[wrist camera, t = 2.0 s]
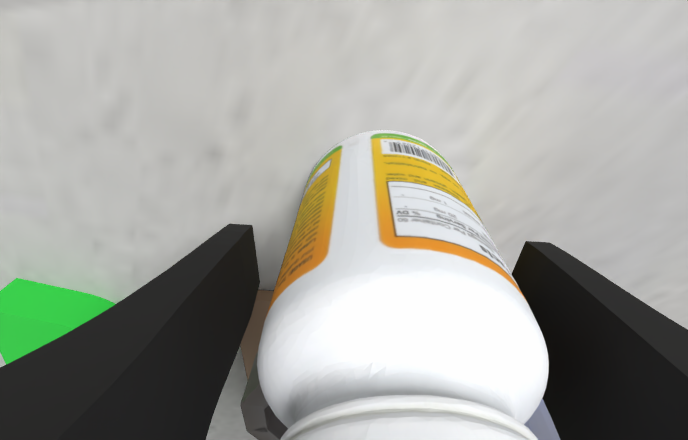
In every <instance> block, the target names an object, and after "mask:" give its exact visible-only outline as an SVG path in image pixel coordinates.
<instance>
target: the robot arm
mask: <svg viewBox="0 0 688 440" xmlns="http://www.w3.org/2000/svg"><path fill="white" fill-rule="evenodd" d="M512 276H513V278H514V279H515V281H516V283H517V285H518V287H519V289H520V291H521V292H522V294H523V295H524V297H525V299H526V301H527V303H528V305H529V307H530V309H531V311H532V313H533V315H534V317H535V319H536V321H537V323H538V325H539V327H540V330H541V332H542V334H543V337H544V340H545V344H546V347H547V352H548V360H549V372H548V380H547V385H546V389H545V392H544V395H543V398H542V400H541V402H540V404H539V406H538V407H537V409H536V410H535V412H534V413H533V415H532V416H531V417H530V419H529V420H528V421H527V422H526V423H525V424H524V425H525V426H526V427H527V428H529V430H530V431H531V432H532V433H533V434H534V435H535V436H536V437H537V439H538V440H688V330H687V329H686V328H684V327H682V326H681V325H679V324H677V323H676V322H674V321H672V320H671V319H669V318H667V317H666V316H664V315H663V314H661V313H659V312H658V311H656V310H655V309H653V308H651V307H650V306H648V305H647V304H645V303H644V302H642V301H640V300H639V299H637V298H636V297H634V296H633V295H631V294H630V293H628V292H626V291H625V290H623V289H622V288H620V287H619V286H617V285H616V284H614V283H613V282H611V281H610V280H608V279H607V278H605V277H604V276H602V275H601V274H599V273H598V272H596V271H595V270H593V269H592V268H590V267H588V266H587V265H585V264H584V263H582V262H581V261H579V260H578V259H576V258H575V257H573V256H571V255H570V254H568V253H567V252H565V251H563V250H562V249H560V248H558V247H556V246H555V245H553V244H551V243H546V242H529V241H526V242H525V244H524V247H523V249H522V251H521V254H520V256H519V258H518V261H517V263H516V265H515V268H514V270H513V272H512ZM259 284H260V280H259V272H258V265H257V257H256V250H255V242H254V235H253V227H252V225H240V224H229V225H227V226H226V227H224V228H223V229H221V230H220V231H219V232H217V233H216V234H215V235H213V236H212V237H211V238H209V239H208V240H207V241H205V242H204V243H203V244H201V245H200V246H199V247H198V248H196V249H195V250H194V251H192V252H191V253H189V254H188V255H187V256H185V257H184V258H183V259H181V260H180V261H179V262H177V263H176V264H175V265H173V266H172V267H171V268H169V269H168V270H166V271H165V272H163V273H162V274H161V275H159V276H158V277H156V278H155V279H153V280H152V281H150V282H149V283H147V284H146V285H144V286H143V287H141V288H140V289H138V290H137V291H135V292H134V293H132V294H131V295H129V296H128V297H127V298H125V299H123V300H122V301H120V302H119V303H117V304H116V305H114V306H112V307H111V308H109V309H107V310H106V311H104V312H102V313H101V314H99V315H97V316H96V317H94V318H92V319H91V320H89V321H87V322H85V323H84V324H82V325H80V326H78V327H77V328H75V329H73V330H71V331H70V332H68V333H66V334H64V335H62V336H61V337H59V338H57V339H55V340H53V341H51V342H49V343H47V344H45V345H43V346H42V347H40V348H38V349H36V350H34V351H32V352H30V353H28V354H26V355H24V356H22V357H20V358H18V359H16V360H14V361H12V362H10V363H8V364H7V365H5V366H3V367H1V368H0V440H206V436H207V433H208V430H209V426H210V423H211V419H212V416H213V413H214V410H215V408H216V405H217V402H218V399H219V396H220V394H221V391H222V389H223V386H224V384H225V381H226V379H227V376H228V374H229V371H230V369H231V366H232V364H233V361H234V359H235V356H236V354H237V351H238V349H239V346H240V344H241V341H242V339H243V336H244V333H245V331H246V328H247V326H248V323H249V320H250V318H251V315H252V311H253V308H254V304H255V300H256V296H257V292H258V288H259Z"/></svg>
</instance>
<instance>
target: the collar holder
mask: <svg viewBox="0 0 688 440" xmlns="http://www.w3.org/2000/svg"><path fill="white" fill-rule="evenodd" d="M273 292H274V291H264V290H258V292H257V296H256V300H255V304H254V308H253V311H252V315H251V318H250V320H249V323H248V326H247V328H246V331H245V333H244V336H243V339H242V341H241V344H240V346H241V350H242V355H243V360H244V365H245V370H246V375H247V380H248V382H247V385H246V389H245V392H244V395H243V398H242V402H241V409H242V413H243V417H244V421H245V426H246V430H247V431H248V432H249V433H250V434H251V435H253V436H254V437H255V438H257V439H258V440H280V439H281V437H282V436H283V434H284V433H285V432H286V431H287V430H288V428H287V427H286V426H285V425H284V424H283V423H282V422H281V421H280V420H279V419H278V418H277V417H276V415H275V414H274V412H273V411H272V409H271V408H270V406H269V405H268V403H267V401H266V399H265V397H264V394H263V392H262V389H261V386H260V382H259V377H258V370H257V356H258V348H259V343H260V339H261V335H262V331H263V327H264V322H265V318H266V315H267V312H268V309H269V305H270V302H271V299H272V296H273Z"/></svg>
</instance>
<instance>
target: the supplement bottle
mask: <svg viewBox="0 0 688 440" xmlns="http://www.w3.org/2000/svg"><path fill="white" fill-rule="evenodd" d="M257 370H258V377H259V382H260V386H261V389H262V392H263V394H264V397H265V399H266V401H267V403H268V405H269V406H270V408H271V409H272V411H273V412H274V414H275V415H276V417H277V418H278V419H279V420H280V421H281V422H282V423H283V424H284V425H285V426H286V427H287V428H288V430H287V431H286V432H285V433H284V434H283V436H282V437H281V439H280V440H538V439H537V437H536V436H535V435H534V434H533V433H532V432H531V431H530V430H529V428H527V427H526V426H525V425H524V424H525V423H526V422H527V421H528V420H529V419H530V417H531V416H532V415H533V413H534V412H535V410H536V409H537V407H538V406H539V404H540V402H541V400H542V398H543V395H544V392H545V389H546V385H547V380H548V372H549V360H548V352H547V347H546V344H545V340H544V337H543V334H542V332H541V330H540V327H539V325H538V323H537V321H536V319H535V317H534V315H533V313H532V311H531V309H530V307H529V305H528V303H527V301H526V299H525V297H524V295H523V294H522V292H521V291H520V289H519V287H518V285H517V283H516V281H515V279H514V278H513V276H512V275H511V273H510V271H509V269H508V268H507V266H506V264H505V262H504V261H503V259H502V257H501V255H500V253H499V252H498V250H497V248H496V246H495V244H494V243H493V241H492V239H491V237H490V236H489V234H488V232H487V230H486V228H485V227H484V225H483V223H482V221H481V219H480V217H479V216H478V214H477V212H476V211H475V209H474V207H473V205H472V203H471V202H470V200H469V198H468V196H467V195H466V193H465V191H464V189H463V187H462V186H461V184H460V182H459V180H458V178H457V177H456V175H455V173H454V172H453V170H452V168H451V167H450V165H449V164H448V163H447V161H446V160H445V159H444V157H443V156H442V155H441V154H440V153H439V152H438V151H437V150H436V149H435V148H434V147H432V146H431V145H430V144H428V143H427V142H425V141H423V140H422V139H420V138H418V137H415V136H413V135H410V134H407V133H403V132H399V131H392V130H375V131H368V132H364V133H360V134H357V135H353V136H351V137H349V138H347V139H345V140H343V141H341V142H340V143H338V144H337V145H335V146H334V147H332V148H331V149H330V150H329V151H328V152H327V153H326V154H325V155H324V156H323V157H322V158H321V159H320V160H319V162H318V163H317V164H316V166H315V167H314V169H313V171H312V173H311V175H310V177H309V179H308V182H307V185H306V188H305V191H304V194H303V197H302V201H301V204H300V208H299V211H298V215H297V218H296V221H295V225H294V228H293V231H292V234H291V238H290V241H289V244H288V247H287V251H286V253H285V256H284V260H283V264H282V267H281V270H280V273H279V276H278V279H277V283H276V286H275V289H274V292H273V296H272V299H271V302H270V305H269V309H268V312H267V315H266V318H265V322H264V327H263V331H262V335H261V339H260V343H259V348H258V356H257Z"/></svg>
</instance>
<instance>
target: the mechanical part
mask: <svg viewBox="0 0 688 440" xmlns="http://www.w3.org/2000/svg"><path fill="white" fill-rule="evenodd" d="M114 305H116V304H115V303H113V302H110V301H108V300H106V299H103V298H101V297H98V296H95V295H91V294H87V293H83V292H78V291H74V290H69V289H65V288H60V287H55V286H51V285H46V284H42V283H37V282H32V281H28V280H23V279H19V278H16V279H15V280H14V281H12V282H11V283H10V284H9V285H7V286H6V287H5V288H4V289H2V290H1V291H0V352H1V354H2V357H3V359H4V361H5V363H6V365H7V364H8V363H10V362H12V361H14V360H16V359H18V358H20V357H22V356H24V355H26V354H28V353H30V352H32V351H34V350H36V349H38V348H40V347H42V346H43V345H45V344H47V343H49V342H51V341H53V340H55V339H57V338H59V337H61V336H62V335H64V334H66V333H68V332H70V331H71V330H73V329H75V328H77V327H78V326H80V325H82V324H84V323H85V322H87V321H89V320H91V319H92V318H94V317H96V316H97V315H99V314H101V313H102V312H104V311H106V310H107V309H109V308H111V307H112V306H114Z"/></svg>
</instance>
